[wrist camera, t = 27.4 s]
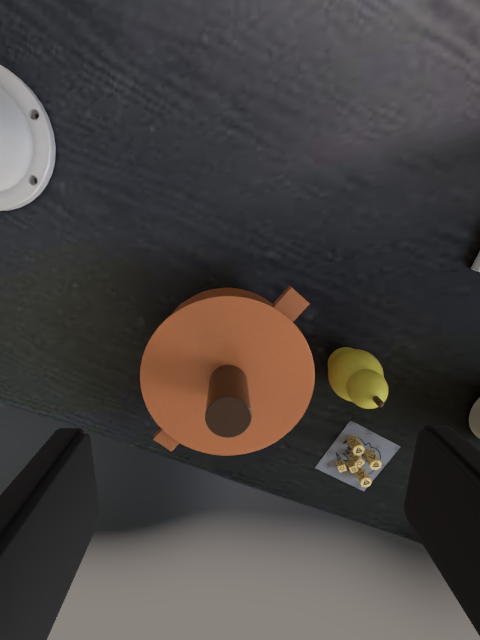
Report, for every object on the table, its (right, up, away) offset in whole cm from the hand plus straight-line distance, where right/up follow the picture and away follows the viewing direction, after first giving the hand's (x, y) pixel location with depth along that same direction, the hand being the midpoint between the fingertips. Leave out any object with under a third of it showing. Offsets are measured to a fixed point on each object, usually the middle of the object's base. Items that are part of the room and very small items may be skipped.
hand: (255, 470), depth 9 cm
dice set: (+15, -13, +32) cm, 38 cm away
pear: (+12, -1, +28) cm, 30 cm away
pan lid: (-2, -1, +21) cm, 22 cm away
